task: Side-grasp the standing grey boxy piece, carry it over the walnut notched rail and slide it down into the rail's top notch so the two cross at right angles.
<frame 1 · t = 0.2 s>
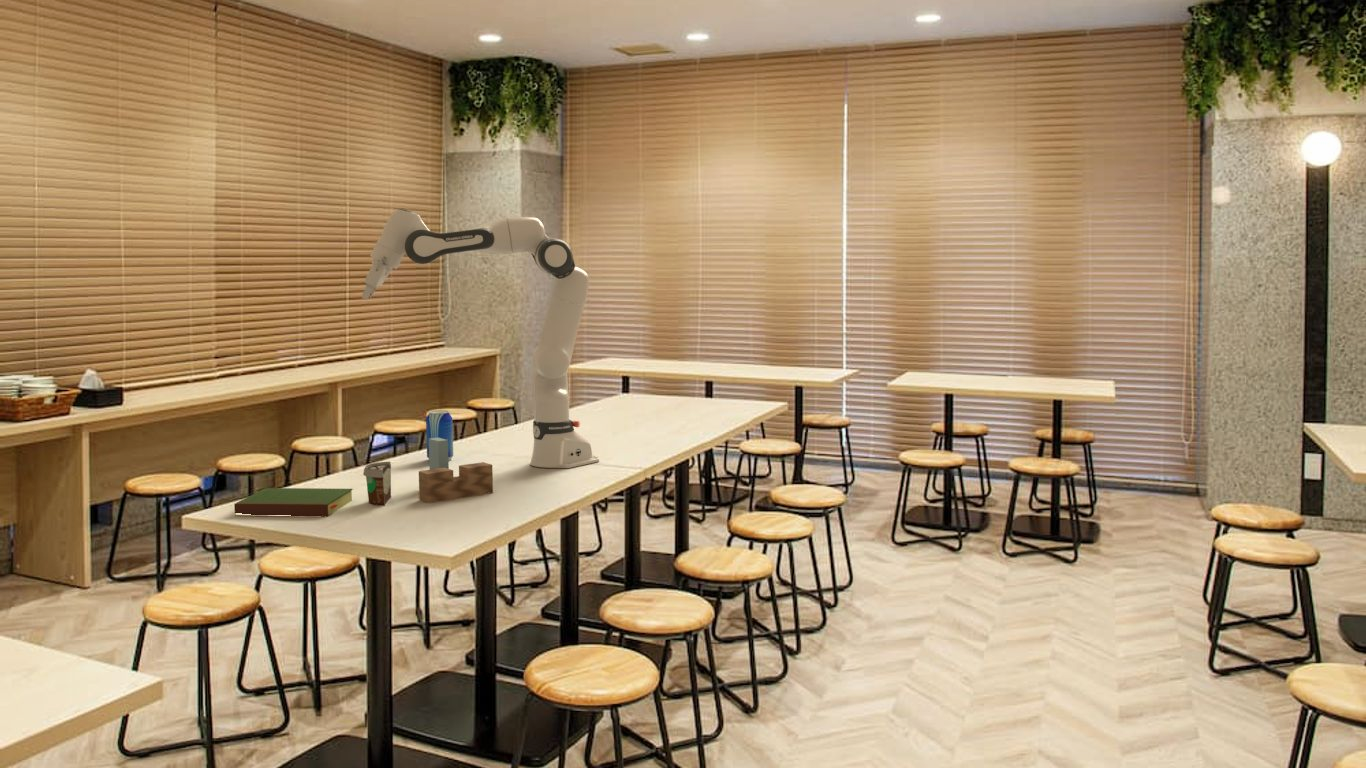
hand: (365, 298, 328), 54 cm above the table, tool tilted 25°, fingers open, 8 cm apart
hardcover book: (297, 510, 286), on the table
rail: (456, 496, 300), on the table
grey boxy piece: (439, 487, 311), on the table
food container: (376, 502, 293), on the table
beer can: (440, 460, 353), on the table
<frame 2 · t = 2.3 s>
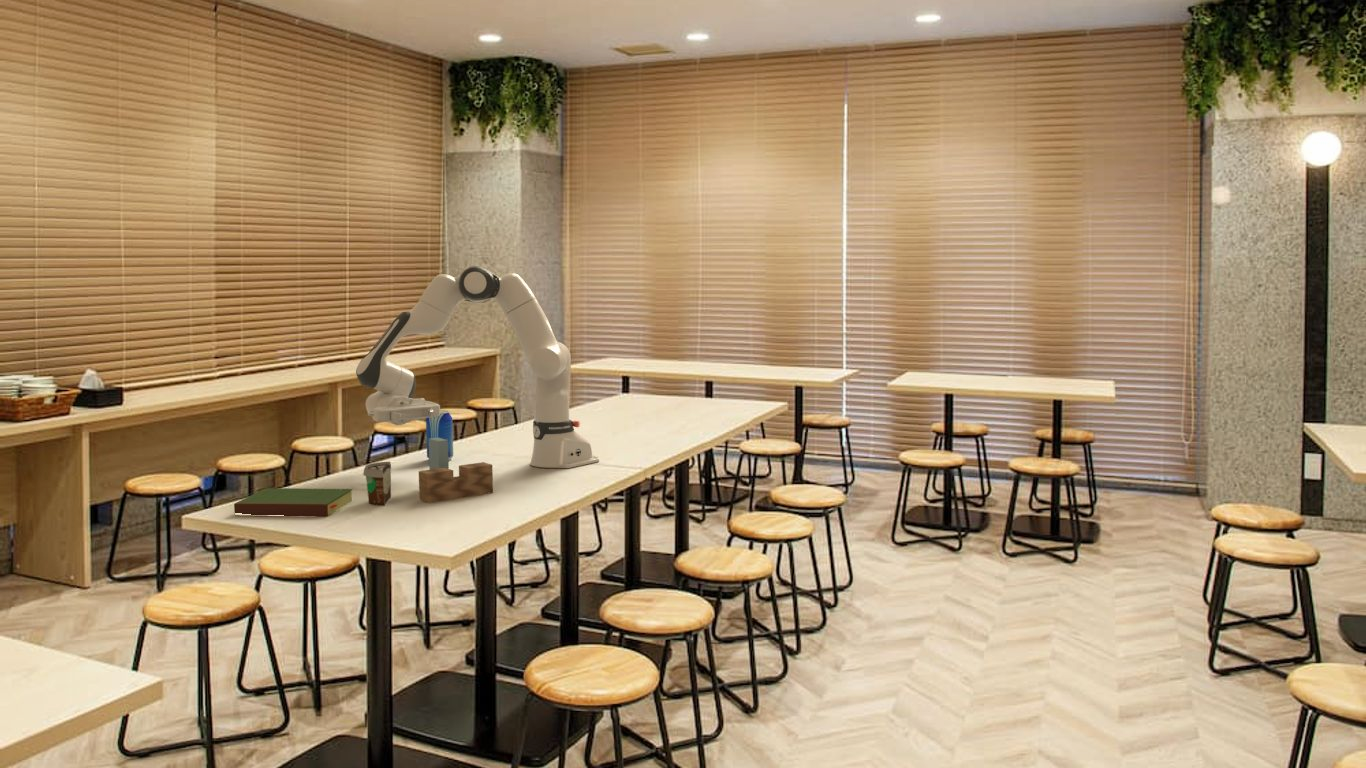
hand: (418, 415, 318), 20 cm above the table, tool horizontal, fingers open, 8 cm apart
nothing on the table moved.
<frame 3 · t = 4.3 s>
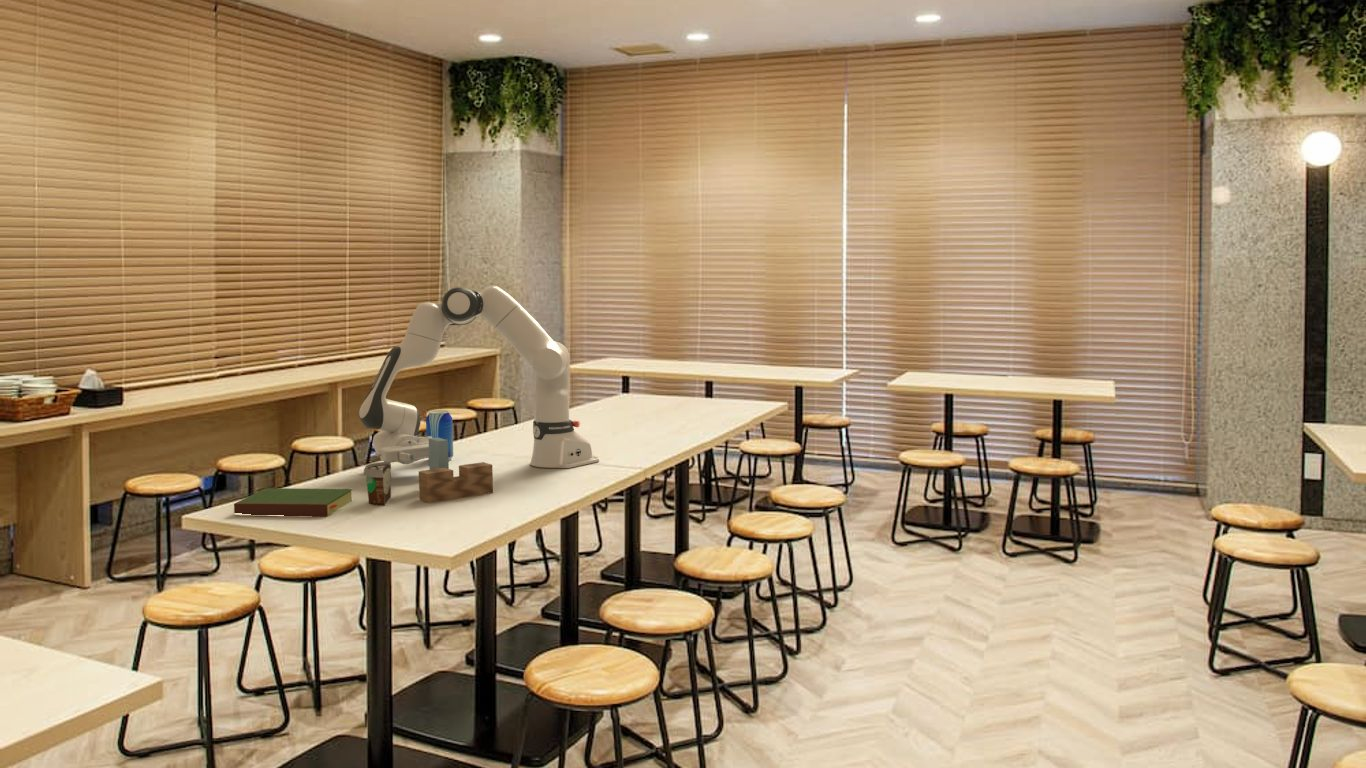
hand: (426, 455, 317), 8 cm above the table, tool horizontal, fingers open, 8 cm apart
nothing on the table moved.
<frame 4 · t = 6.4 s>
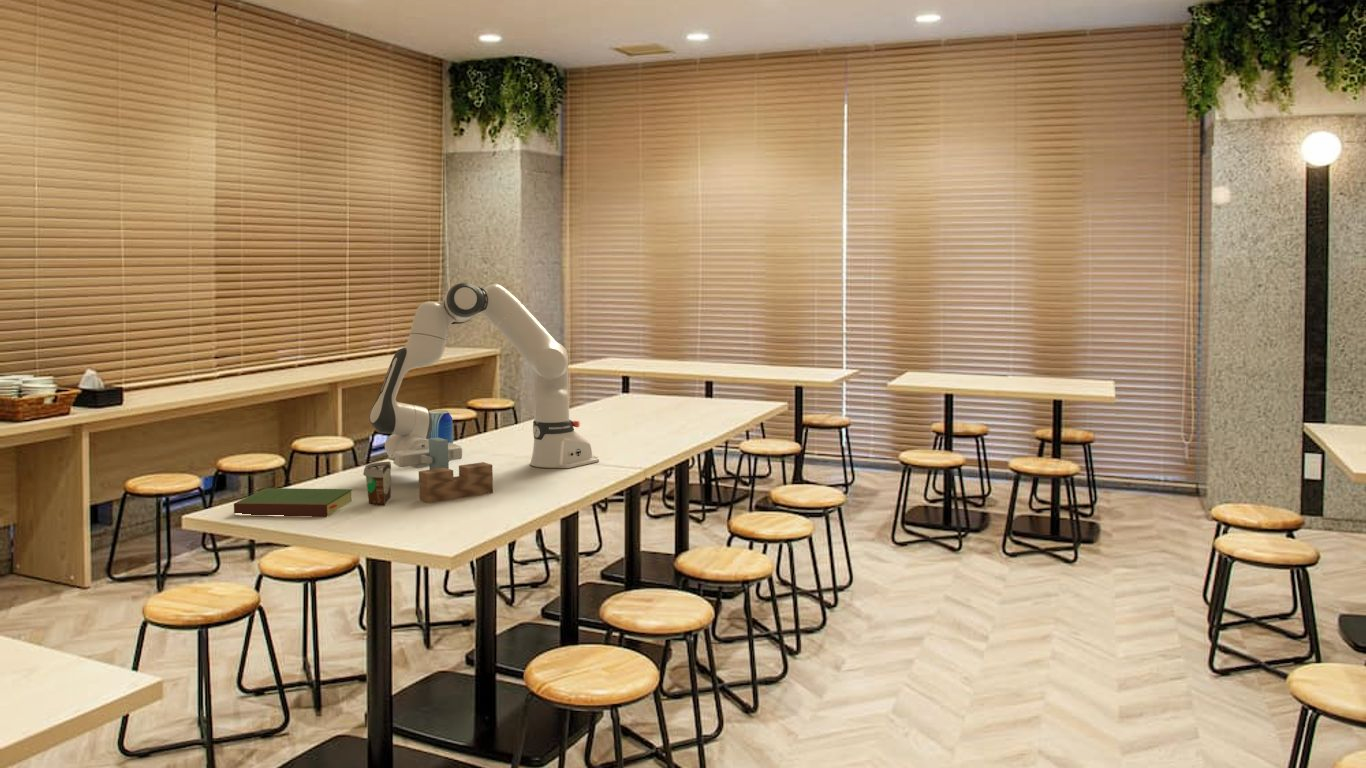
hand: (440, 459, 310), 8 cm above the table, tool horizontal, fingers closed on grey boxy piece, 3 cm apart
grey boxy piece: (439, 487, 311), on the table, touching gripper
everything else where it was.
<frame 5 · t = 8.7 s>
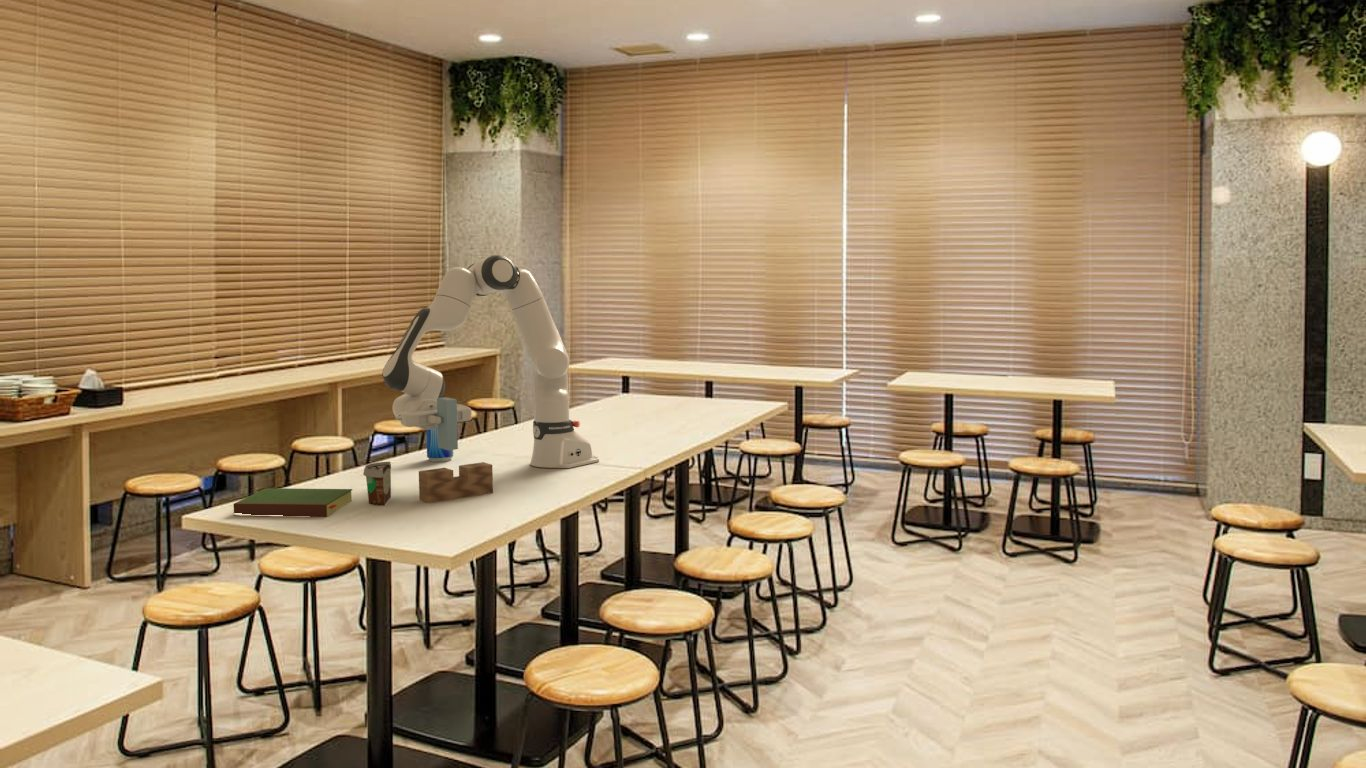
hand: (448, 419, 301), 21 cm above the table, tool horizontal, fingers closed on grey boxy piece, 3 cm apart
grey boxy piece: (447, 448, 302), point 13 cm above the table, touching gripper
everything else where it was.
when the fingers open (14 cm above the table, at t = 10.9 s): grey boxy piece drops 1 cm, resting on rail.
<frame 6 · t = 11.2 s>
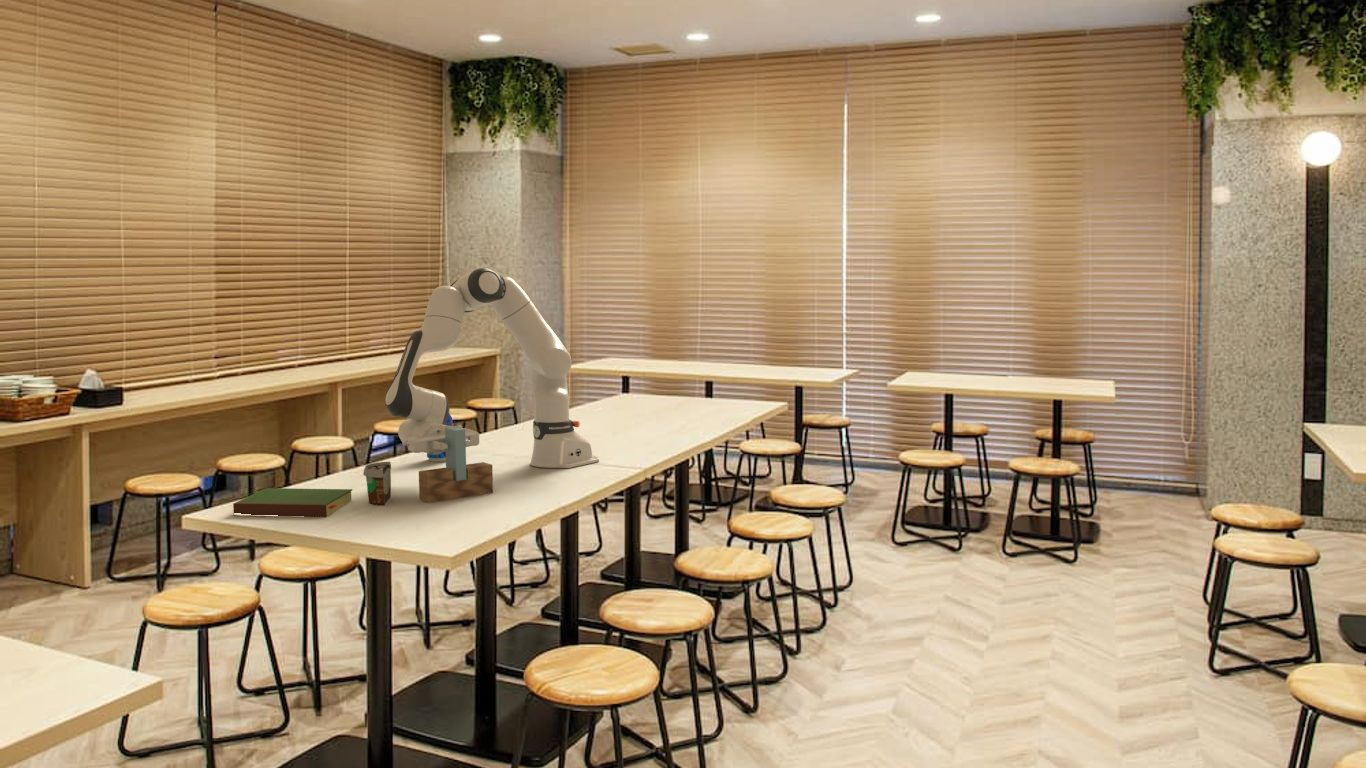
hand: (456, 445, 297), 14 cm above the table, tool horizontal, fingers open, 5 cm apart
grey boxy piece: (456, 478, 299), point 5 cm above the table, touching rail
everything else where it was.
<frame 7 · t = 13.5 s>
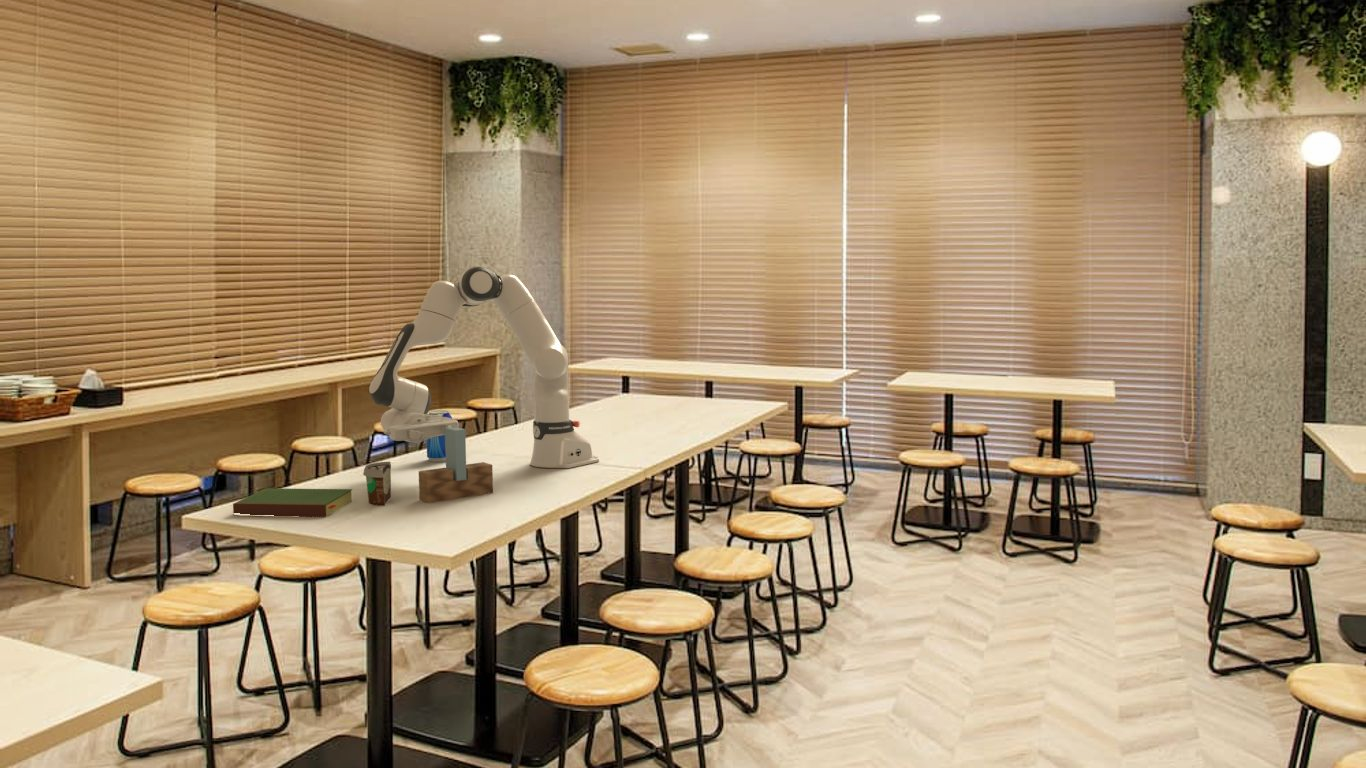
hand: (436, 433, 308), 16 cm above the table, tool horizontal, fingers open, 8 cm apart
nothing on the table moved.
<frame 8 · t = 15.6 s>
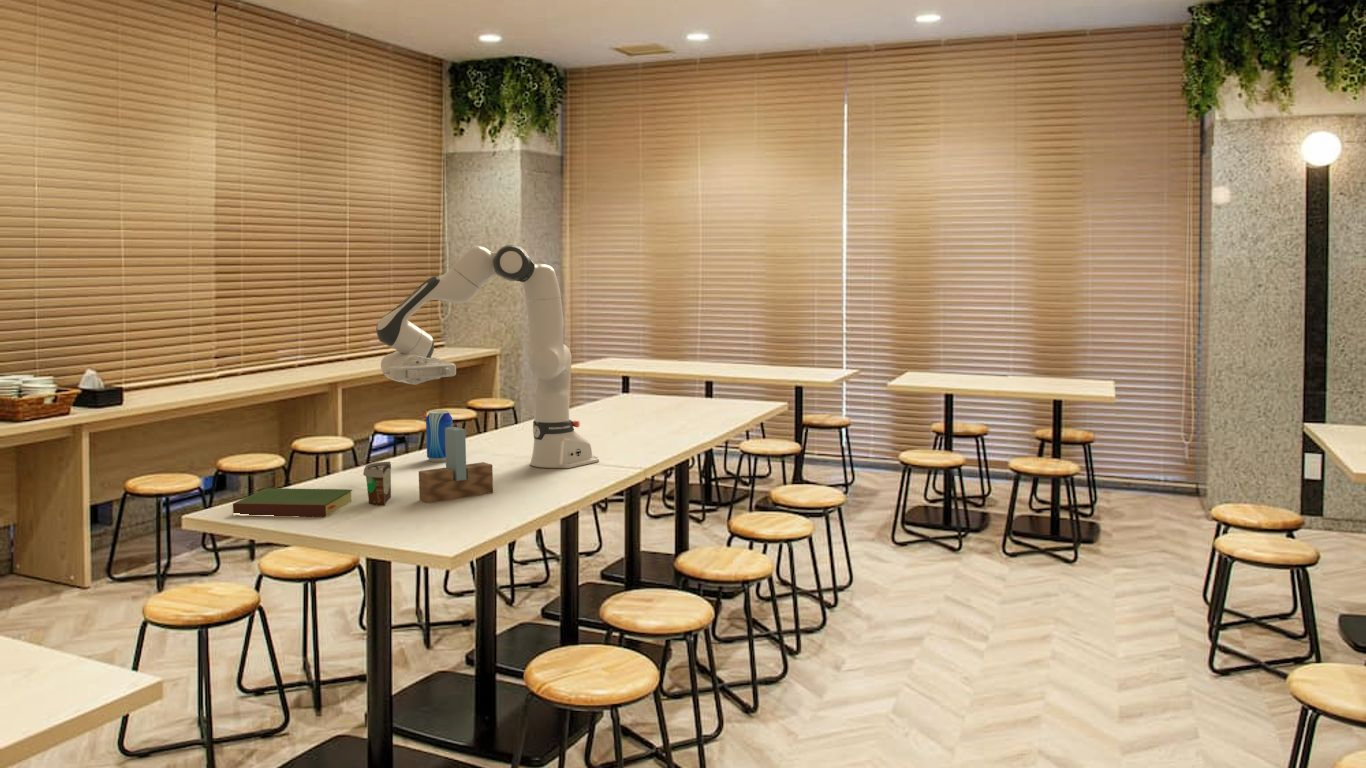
hand: (434, 373, 317), 32 cm above the table, tool horizontal, fingers open, 8 cm apart
nothing on the table moved.
at the end: grey boxy piece 0.0 cm off-centre on the rail, point 5.0 cm above the rail's base; grey boxy piece tilted 0°; the gripper is holding nothing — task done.
